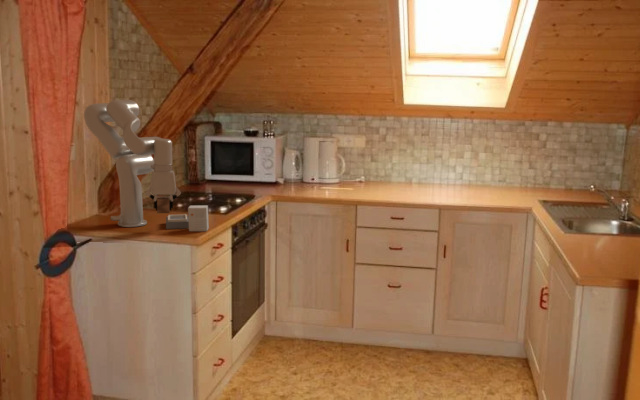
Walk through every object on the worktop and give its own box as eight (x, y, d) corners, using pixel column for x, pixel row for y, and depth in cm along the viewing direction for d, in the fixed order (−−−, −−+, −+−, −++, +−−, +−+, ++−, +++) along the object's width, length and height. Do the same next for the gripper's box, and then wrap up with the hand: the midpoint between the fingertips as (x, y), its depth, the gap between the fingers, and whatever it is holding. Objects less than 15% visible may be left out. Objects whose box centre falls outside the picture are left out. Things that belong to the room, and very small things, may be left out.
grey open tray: (166, 229, 269) (165, 220, 268) (166, 223, 280) (166, 214, 280) (189, 228, 271) (189, 219, 270) (188, 222, 283) (188, 213, 282)
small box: (208, 228, 271) (208, 205, 269) (207, 231, 266) (206, 207, 264) (190, 228, 271) (190, 205, 269) (188, 231, 265) (187, 207, 263)
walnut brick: (157, 213, 260) (157, 199, 259) (157, 210, 267) (157, 196, 266) (169, 213, 261) (169, 199, 260) (169, 210, 268) (169, 196, 267)
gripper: (141, 169, 255) (142, 212, 258) (183, 169, 258) (183, 211, 262) (142, 166, 262) (143, 208, 266) (183, 166, 266) (183, 207, 269)
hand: (163, 209), depth 264 cm, fingers closed on walnut brick, 5 cm apart
